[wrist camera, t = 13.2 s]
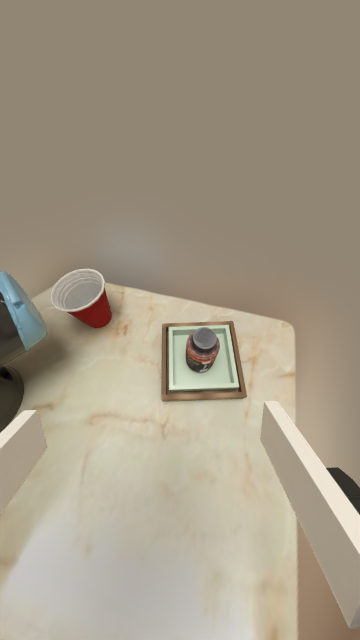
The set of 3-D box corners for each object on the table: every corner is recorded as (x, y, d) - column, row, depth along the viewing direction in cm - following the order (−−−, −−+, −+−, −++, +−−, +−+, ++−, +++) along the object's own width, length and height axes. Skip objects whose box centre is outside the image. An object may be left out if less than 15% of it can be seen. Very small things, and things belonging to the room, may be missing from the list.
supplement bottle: (210, 376, 41) (220, 359, 31) (182, 369, 41) (182, 350, 31) (215, 349, 43) (225, 325, 33) (189, 343, 44) (190, 318, 34)
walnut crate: (163, 401, 40) (161, 399, 37) (163, 329, 48) (162, 323, 45) (242, 398, 40) (246, 396, 37) (230, 327, 48) (233, 321, 45)
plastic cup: (97, 293, 53) (76, 259, 43) (129, 310, 50) (115, 279, 40) (67, 324, 49) (35, 295, 38) (100, 345, 46) (76, 320, 35)
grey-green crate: (170, 392, 40) (169, 389, 37) (169, 333, 46) (168, 326, 43) (234, 390, 40) (239, 387, 37) (225, 331, 46) (228, 324, 43)
